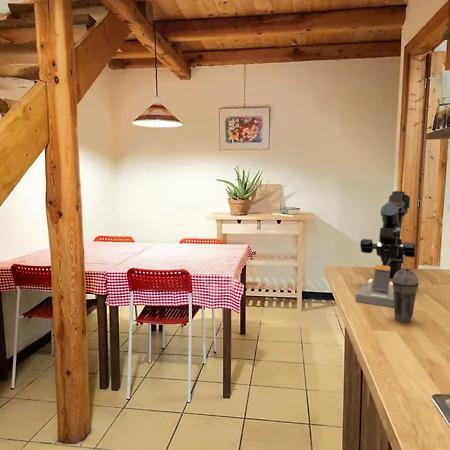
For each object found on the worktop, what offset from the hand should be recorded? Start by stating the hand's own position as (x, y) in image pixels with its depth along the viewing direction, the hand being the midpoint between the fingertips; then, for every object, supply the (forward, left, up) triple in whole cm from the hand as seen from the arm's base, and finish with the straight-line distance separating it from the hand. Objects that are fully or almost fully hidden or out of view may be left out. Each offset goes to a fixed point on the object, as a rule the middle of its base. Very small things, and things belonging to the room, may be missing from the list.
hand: (384, 267), depth 145 cm
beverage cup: (+6, +24, -10) cm, 27 cm away
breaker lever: (+4, +6, -6) cm, 9 cm away
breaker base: (+4, +6, -10) cm, 12 cm away
